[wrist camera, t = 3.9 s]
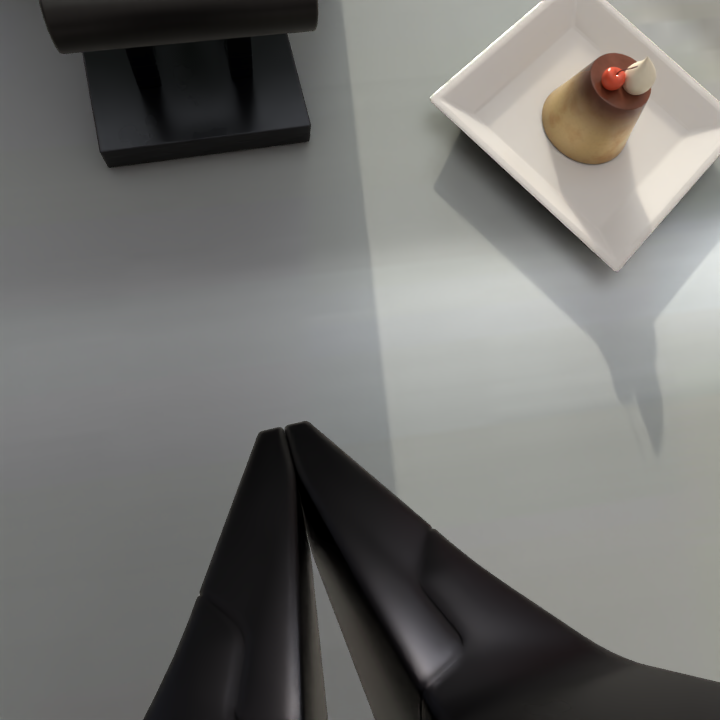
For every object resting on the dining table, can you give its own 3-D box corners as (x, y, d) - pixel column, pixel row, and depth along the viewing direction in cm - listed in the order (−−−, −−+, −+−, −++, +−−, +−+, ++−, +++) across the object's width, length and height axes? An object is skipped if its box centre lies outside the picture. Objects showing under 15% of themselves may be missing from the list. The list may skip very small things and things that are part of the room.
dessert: (422, 114, 27) (452, 35, 22) (564, -10, 30) (617, -100, 25) (602, 281, 26) (673, 237, 21) (728, 137, 29) (813, 72, 25)
